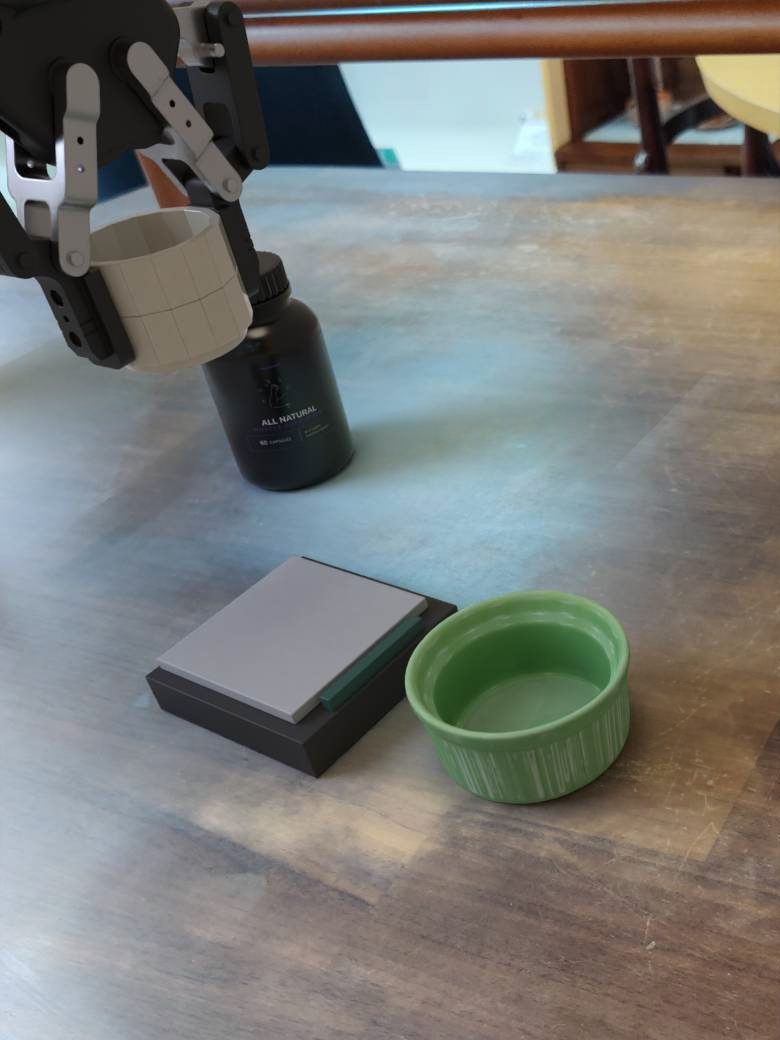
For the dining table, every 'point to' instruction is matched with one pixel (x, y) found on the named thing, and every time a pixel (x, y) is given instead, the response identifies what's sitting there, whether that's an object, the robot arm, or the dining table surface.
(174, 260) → the cream bowl
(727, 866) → the dining table surface
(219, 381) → the supplement bottle
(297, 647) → the kitchen scale
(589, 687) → the ramekin
